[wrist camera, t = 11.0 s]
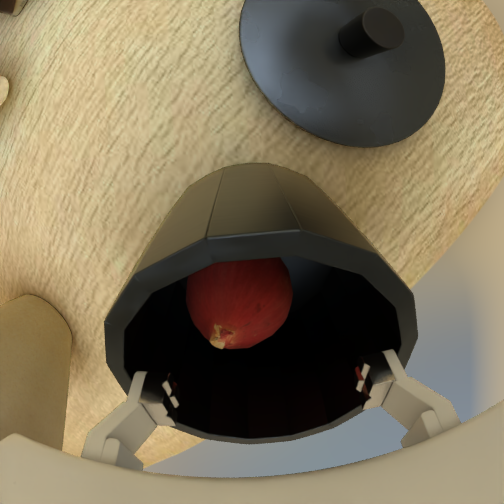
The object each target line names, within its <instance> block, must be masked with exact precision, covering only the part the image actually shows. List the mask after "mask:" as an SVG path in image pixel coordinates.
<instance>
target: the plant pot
mask: <svg viewBox="0 0 504 504" xmlns="http://www.w3.org/2000/svg"><path fill="white" fill-rule="evenodd" d="M71 349H72V335H71V331H70V329H69V327H68V325H67V323H66V322H65V320H64V319H63V317H62V316H61V315H60V314H59V312H58V311H57V310H56V309H55V308H54V307H52V306H51V305H50V304H49V303H47V302H46V301H45V300H43V299H41V298H39V297H37V296H34V295H23V296H21V297H18V298H15V299H13V300H11V301H8V302H6V303H4V304H2V305H0V441H1V440H3V439H4V438H6V437H7V436H9V435H11V434H13V433H17V434H20V435H23V436H25V437H27V438H29V439H32V440H34V441H37V442H39V443H42V444H44V445H47V446H49V447H52V448H55V449H58V450H61V451H62V446H63V437H64V428H65V418H66V408H67V397H68V387H69V375H70V363H71Z"/></svg>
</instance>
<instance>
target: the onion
mask: <svg viewBox="0 0 504 504" xmlns="http://www.w3.org/2000/svg"><path fill="white" fill-rule="evenodd" d="M292 297H293V290H292V285H291V280H290V275H289V270H288V268H287V267H286V265H285V264H284V262H283V261H282V259H281V258H280V257H277V258H266V259H254V260H242V261H230V262H218V263H214V264H212V265H210V266H208V267H206V268H203V269H201V270H199V271H197V272H195V273H193V274H191V275H189V276H188V281H187V291H186V304H187V308H188V311H189V313H190V316H191V319H192V321H193V323H194V325H195V326H196V327H197V328H198V330H199V331H200V332H201V333H202V335H203V336H204V337H205V338H206V339H208V340H209V341H210V343H211V344H212V345H213V346H215V347H217V348H220V349H223V348H227V349H241V348H250V347H252V346H254V345H256V344H258V343H259V342H261V341H263V340H265V339H266V338H268V337H270V336H272V335H273V334H274V333H275V332H276V331H277V330H278V329H279V328H280V327H281V325H282V324H283V323H284V322H285V320H286V318H287V316H288V313H289V309H290V306H291V303H292Z"/></svg>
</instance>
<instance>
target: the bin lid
mask: <svg viewBox="0 0 504 504" xmlns="http://www.w3.org/2000/svg"><path fill="white" fill-rule="evenodd" d="M239 40H240V46H241V52H242V55H243V58H244V61H245V65H246V67H247V69H248V71H249V73H250V75H251V77H252V79H253V81H254V82H255V84H256V86H257V87H258V89H259V90H260V92H261V93H262V94H263V95H264V97H265V98H266V99H267V100H268V101H269V103H270V104H271V105H272V106H273V107H274V108H275V109H276V110H278V111H279V112H280V113H281V114H282V115H283V116H284V117H286V118H287V119H288V120H290V121H291V122H292V123H293V124H295V125H297V126H298V127H300V128H302V129H303V130H305V131H306V132H309V133H311V134H313V135H315V136H317V137H319V138H322V139H325V140H328V141H331V142H334V143H337V144H341V145H346V146H352V147H363V148H365V147H379V146H385V145H390V144H393V143H396V142H399V141H401V140H403V139H405V138H407V137H409V136H411V135H412V134H413V133H415V132H416V131H418V130H419V129H420V128H421V127H422V126H423V125H424V124H425V123H426V122H427V121H428V120H429V118H430V117H431V116H432V115H433V113H434V111H435V109H436V108H437V106H438V104H439V101H440V98H441V96H442V92H443V88H444V83H445V58H444V52H443V48H442V44H441V41H440V38H439V35H438V33H437V30H436V28H435V26H434V24H433V22H432V20H431V19H430V17H429V15H428V14H427V12H426V11H425V9H424V8H423V6H422V5H421V4H420V3H419V2H418V0H245V2H244V5H243V8H242V11H241V16H240V22H239Z"/></svg>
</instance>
